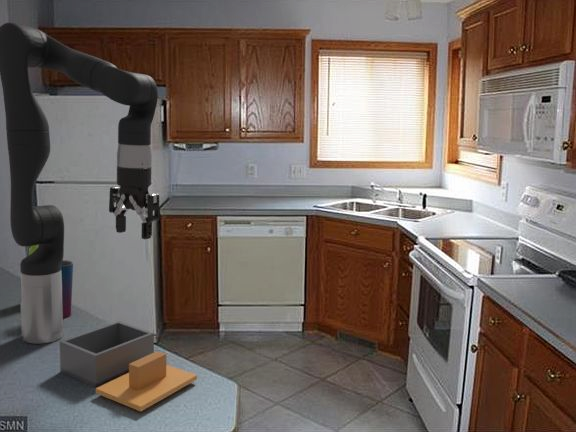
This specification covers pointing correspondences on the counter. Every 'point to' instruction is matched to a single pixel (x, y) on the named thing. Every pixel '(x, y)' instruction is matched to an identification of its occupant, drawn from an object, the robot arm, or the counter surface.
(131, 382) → the lid
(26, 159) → the robot arm
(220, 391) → the counter surface
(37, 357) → the counter surface
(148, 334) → the tub
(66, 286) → the cup
